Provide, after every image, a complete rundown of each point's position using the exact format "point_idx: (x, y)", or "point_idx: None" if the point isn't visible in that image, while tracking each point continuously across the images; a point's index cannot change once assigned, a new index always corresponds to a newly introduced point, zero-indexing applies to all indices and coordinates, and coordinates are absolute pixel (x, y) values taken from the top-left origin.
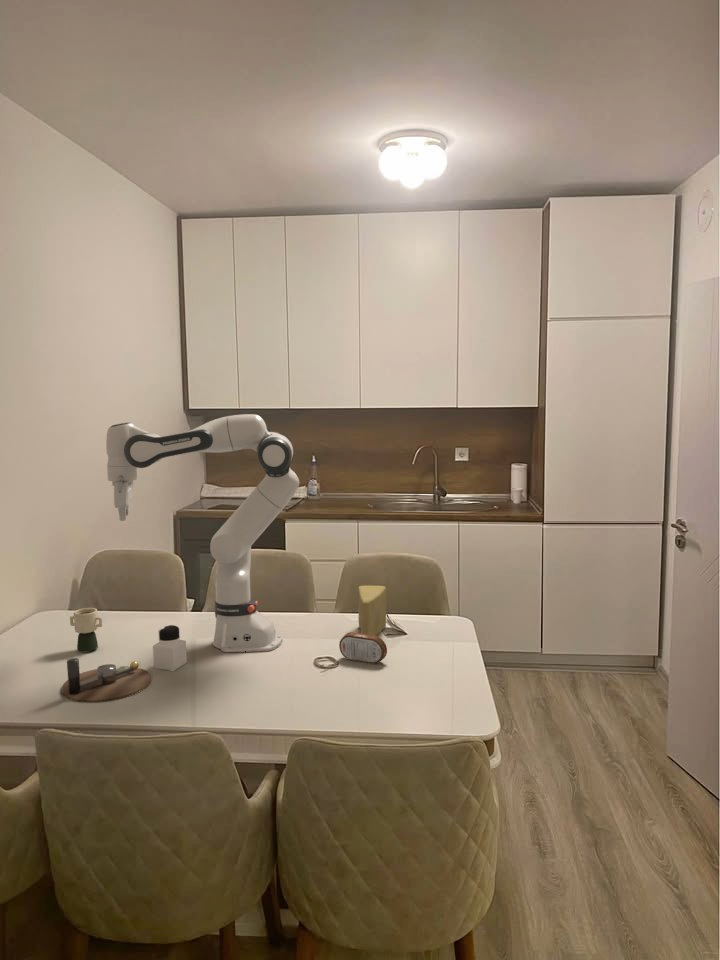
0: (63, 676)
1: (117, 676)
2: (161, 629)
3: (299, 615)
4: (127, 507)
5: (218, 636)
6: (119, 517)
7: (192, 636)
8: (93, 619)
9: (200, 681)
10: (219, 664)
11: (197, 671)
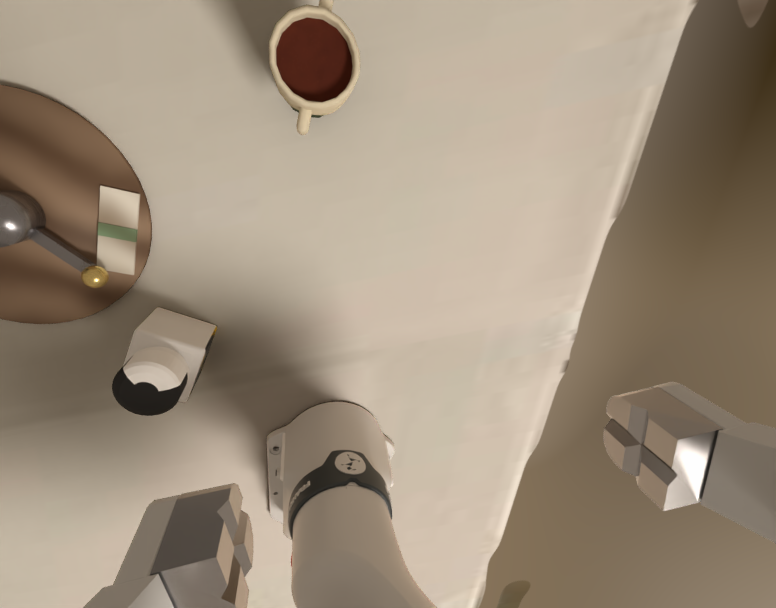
0: (77, 60)
1: (64, 233)
2: (125, 376)
3: (490, 522)
4: (757, 521)
5: (300, 436)
6: (132, 540)
7: (391, 347)
8: (290, 102)
9: (74, 424)
10: (189, 439)
11: None
